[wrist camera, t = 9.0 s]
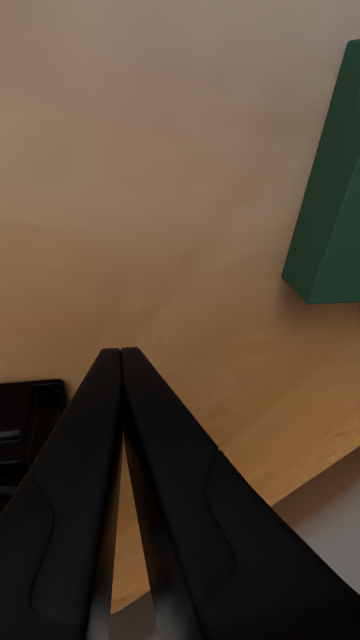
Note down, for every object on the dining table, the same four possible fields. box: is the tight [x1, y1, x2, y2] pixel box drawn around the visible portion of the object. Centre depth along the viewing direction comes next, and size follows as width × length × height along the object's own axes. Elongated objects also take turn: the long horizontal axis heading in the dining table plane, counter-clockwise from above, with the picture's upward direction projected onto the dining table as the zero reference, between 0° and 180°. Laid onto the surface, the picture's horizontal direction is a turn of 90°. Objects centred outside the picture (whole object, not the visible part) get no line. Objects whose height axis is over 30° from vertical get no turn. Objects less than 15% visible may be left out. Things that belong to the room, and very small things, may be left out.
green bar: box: [282, 39, 360, 304], centre depth 17 cm, size 12×4×4 cm, turn 176°
